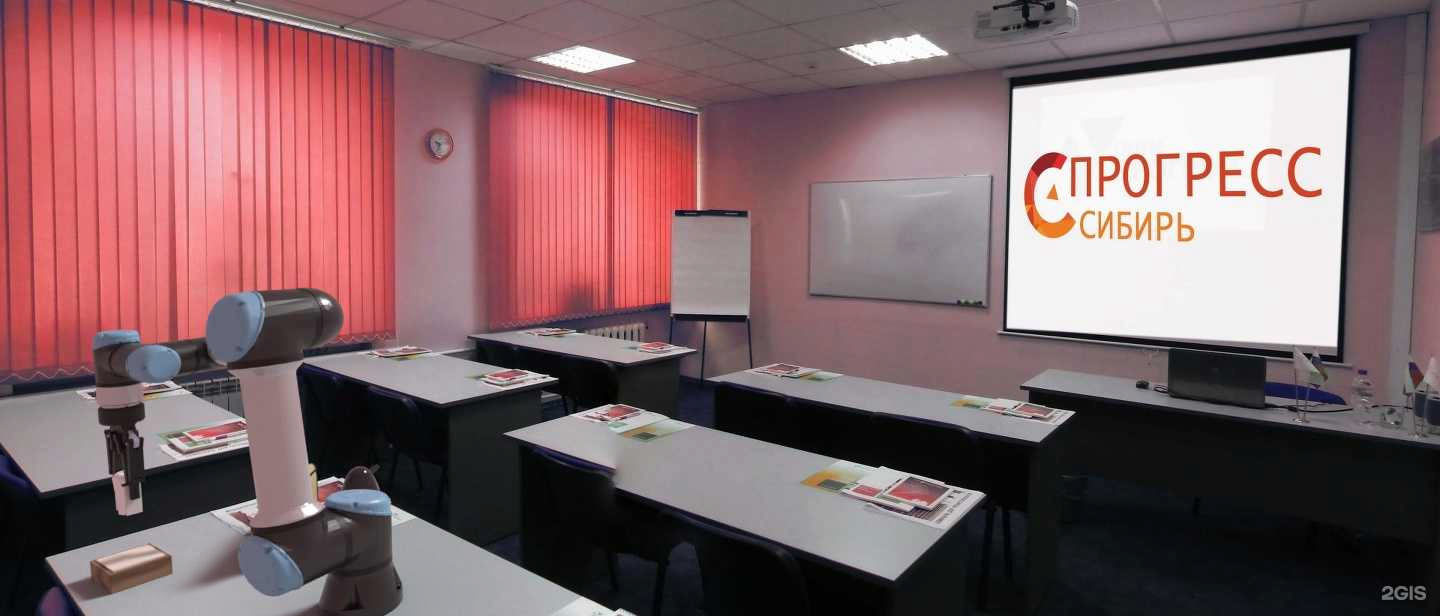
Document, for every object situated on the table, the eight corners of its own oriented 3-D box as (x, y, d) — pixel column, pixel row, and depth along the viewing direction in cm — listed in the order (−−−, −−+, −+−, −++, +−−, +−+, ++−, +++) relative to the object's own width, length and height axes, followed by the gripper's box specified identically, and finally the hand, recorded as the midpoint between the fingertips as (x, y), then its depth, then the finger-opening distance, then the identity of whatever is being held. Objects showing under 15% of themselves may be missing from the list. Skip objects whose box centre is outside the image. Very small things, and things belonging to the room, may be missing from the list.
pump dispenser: (392, 522, 182) (390, 465, 180) (353, 536, 173) (350, 476, 171) (369, 513, 187) (367, 457, 186) (330, 526, 179) (327, 468, 177)
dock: (172, 573, 154) (171, 554, 153) (112, 593, 145) (110, 574, 144) (150, 560, 159) (149, 541, 159) (91, 579, 150) (89, 560, 150)
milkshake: (129, 518, 148) (126, 472, 147) (108, 514, 149) (105, 469, 148) (150, 509, 152) (148, 465, 151) (130, 506, 153) (127, 462, 152)
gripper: (160, 406, 147) (168, 514, 149) (126, 394, 156) (134, 496, 158) (115, 413, 140) (124, 526, 143) (82, 401, 149) (91, 507, 152)
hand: (129, 510), depth 151 cm, fingers closed on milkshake, 4 cm apart
